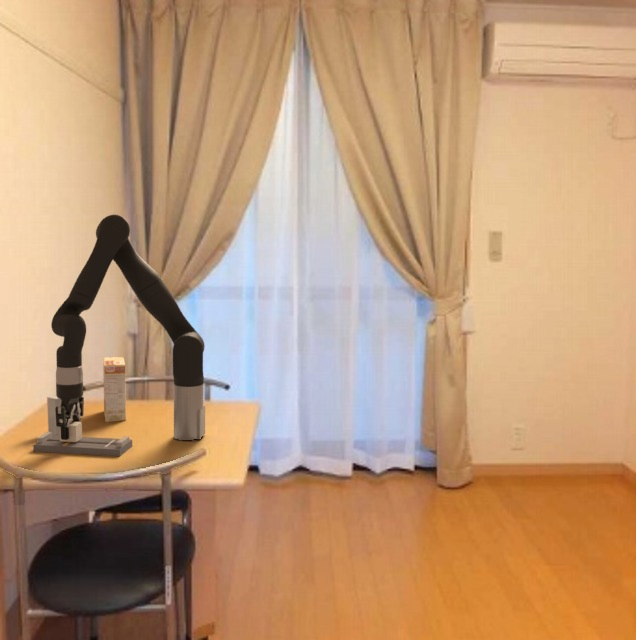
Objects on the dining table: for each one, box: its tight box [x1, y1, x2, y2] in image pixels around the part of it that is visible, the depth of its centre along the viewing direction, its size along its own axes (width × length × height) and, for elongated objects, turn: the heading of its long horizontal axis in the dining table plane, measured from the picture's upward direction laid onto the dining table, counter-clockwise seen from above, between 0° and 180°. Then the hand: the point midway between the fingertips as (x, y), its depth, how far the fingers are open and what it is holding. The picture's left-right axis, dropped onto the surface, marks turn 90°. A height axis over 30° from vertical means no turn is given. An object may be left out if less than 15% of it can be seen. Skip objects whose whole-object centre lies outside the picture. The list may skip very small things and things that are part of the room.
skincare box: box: [46, 395, 72, 436], centre depth 224 cm, size 6×4×12 cm
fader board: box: [32, 431, 133, 457], centre depth 209 cm, size 26×10×4 cm, turn 85°
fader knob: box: [59, 421, 83, 442], centre depth 209 cm, size 5×4×5 cm
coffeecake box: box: [103, 356, 127, 423], centre depth 245 cm, size 15×7×20 cm, turn 18°
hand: (70, 435), depth 209 cm, fingers open, 6 cm apart
